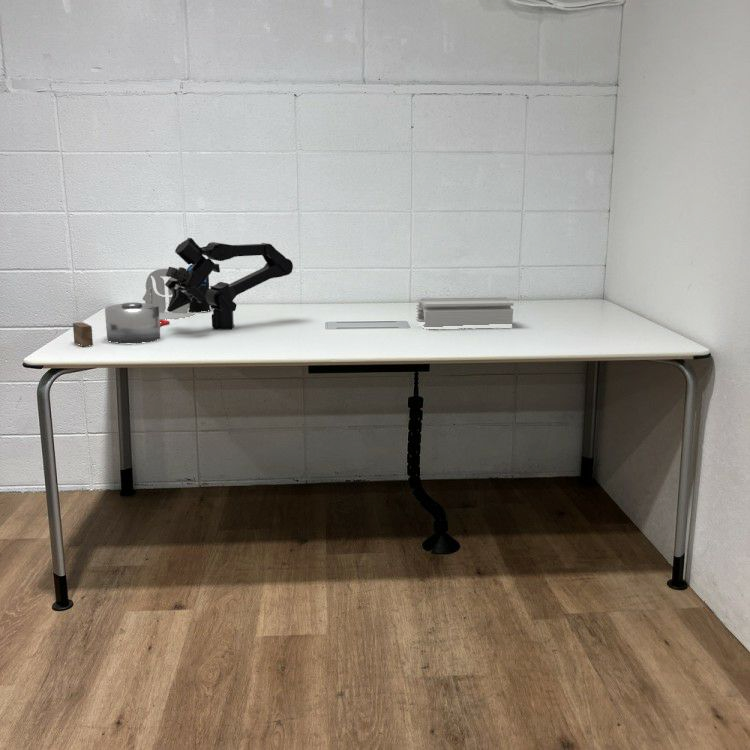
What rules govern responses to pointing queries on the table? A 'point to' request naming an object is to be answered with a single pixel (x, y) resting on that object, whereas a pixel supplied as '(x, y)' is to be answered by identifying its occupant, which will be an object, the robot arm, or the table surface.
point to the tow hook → (163, 322)
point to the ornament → (160, 300)
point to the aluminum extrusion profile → (464, 311)
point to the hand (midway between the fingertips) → (168, 311)
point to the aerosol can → (204, 305)
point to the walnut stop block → (82, 334)
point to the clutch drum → (132, 322)
